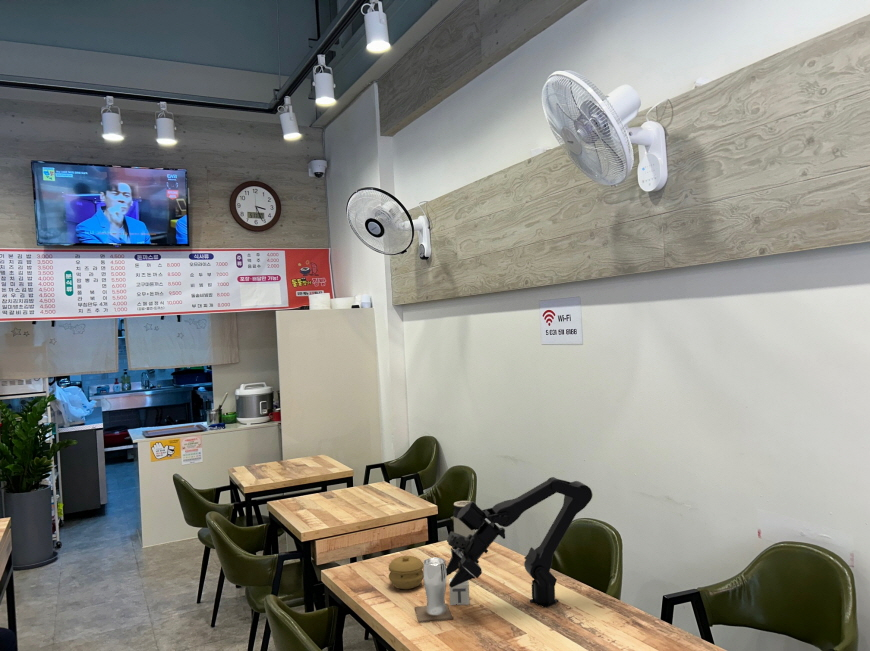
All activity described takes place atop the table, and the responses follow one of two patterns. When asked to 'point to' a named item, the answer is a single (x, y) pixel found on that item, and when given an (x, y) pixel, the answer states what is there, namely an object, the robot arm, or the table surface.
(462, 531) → the travel mug
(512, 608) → the table surface
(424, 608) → the coaster
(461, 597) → the letter block
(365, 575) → the table surface
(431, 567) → the beer glass
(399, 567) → the pot
